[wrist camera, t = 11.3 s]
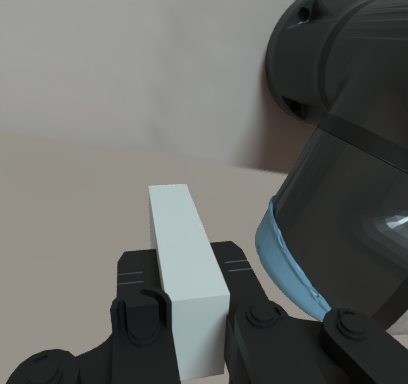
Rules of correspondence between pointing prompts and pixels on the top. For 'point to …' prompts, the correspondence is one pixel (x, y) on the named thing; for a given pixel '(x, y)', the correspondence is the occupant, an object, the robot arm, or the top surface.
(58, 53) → the top surface
